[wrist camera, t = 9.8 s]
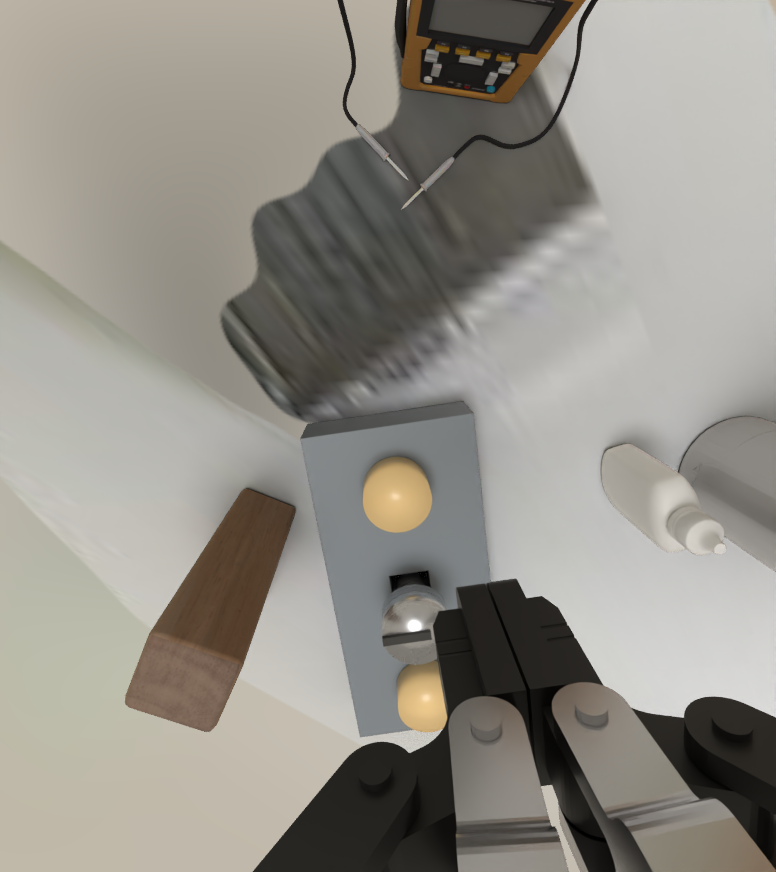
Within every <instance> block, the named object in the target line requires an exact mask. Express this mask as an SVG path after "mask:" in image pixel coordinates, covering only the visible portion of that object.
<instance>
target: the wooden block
mask: <svg viewBox="0 0 776 872" xmlns="http://www.w3.org/2000/svg"><path fill="white" fill-rule="evenodd" d="M294 516H295V508H294V507H293V506H290V505H287V504H285V503H282V502H280V501H277V500H275V499H272V498H270V497H267V496H265V495H262V494H260V493H257V492H255V491H252V490H249V489H244V490H243V491H242V492H241V493H240V495H239V496H238V498H237V499H236V501H235V502H234V504H233V505H232V507H231V508H230V510H229V511H228V513H227V514H226V516H225V518H224V519H223V521H222V522H221V524H220V525H219V527H218V528H217V530H216V532H215V533H214V535H213V536H212V538H211V539H210V541H209V542H208V544H207V546H206V547H205V549H204V550H203V552H202V553H201V555H200V556H199V558H198V559H197V561H196V563H195V564H194V566H193V567H192V569H191V570H190V572H189V573H188V575H187V576H186V578H185V580H184V581H183V583H182V584H181V586H180V587H179V589H178V590H177V592H176V593H175V595H174V597H173V598H172V600H171V601H170V603H169V604H168V606H167V607H166V609H165V610H164V612H163V614H162V615H161V617H160V618H159V620H158V621H157V623H156V624H155V626H154V627H153V629H152V630H151V632H150V634H149V636H148V639H147V641H146V644H145V646H144V649H143V651H142V654H141V657H140V659H139V662H138V665H137V667H136V670H135V673H134V675H133V678H132V680H131V683H130V685H129V688H128V691H127V693H126V698H125V704H126V705H127V706H128V707H130V708H133V709H136V710H139V711H142V712H145V713H148V714H151V715H154V716H157V717H161V718H164V719H167V720H170V721H173V722H176V723H179V724H183V725H186V726H189V727H192V728H195V729H198V730H201V731H204V732H209V731H211V730H212V729H213V728H214V727H215V726H216V725H217V723H218V721H219V718H220V716H221V714H222V712H223V709H224V707H225V705H226V702H227V700H228V698H229V696H230V694H231V692H232V689H233V687H234V685H235V683H236V680H237V678H238V676H239V674H240V671H241V669H242V667H243V664H244V661H245V658H246V655H247V652H248V650H249V647H250V644H251V641H252V638H253V635H254V632H255V629H256V626H257V623H258V620H259V618H260V615H261V612H262V609H263V606H264V603H265V600H266V597H267V594H268V591H269V588H270V585H271V583H272V580H273V577H274V574H275V571H276V568H277V565H278V562H279V559H280V556H281V554H282V551H283V548H284V545H285V542H286V539H287V536H288V533H289V530H290V527H291V524H292V521H293V519H294Z"/></svg>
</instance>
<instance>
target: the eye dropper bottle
mask: <svg viewBox="0 0 776 872" xmlns="http://www.w3.org/2000/svg"><path fill="white" fill-rule="evenodd" d="M601 476H602V483H603V487H604V490H605V492H606V495H607V497H608V498H609V500H610V502H611V503H612V504H613V506H614V507H615V508H616V509H617V510H618V511H619V512H620V513H621V514H622V515H623V516H624V517H626V518H627V519H628V520H629V521H630V522H631V523H632V524H633V525H634V526H636V527H637V528H638V529H639V530H640V531H641V532H642V533H643V534H645V535H646V536H647V537H648V538H649V539H650V540H651V541H653V542H654V543H655V544H656V545H657V546H658V547H660V548H661V549H663V550H664V551H666V552H678V551H681V550H685V549H687V550H688V551H690V552H691V553H693V554H695V555H706V554H710V553H712V552H713V553H716V554H723V553H724V552H725V551H726V546H725V544H724V543H723V539H724V529H723V527H722V525H721V524H720V523H719V522H718V521H716V520H715V519H713V518H712V517H710V516H709V515H707V514H706V513H704V512H703V511H702V508H701V505H700V502H699V499H698V497H697V495H696V493H695V491H694V489H693V488H692V486H691V485H690V483H689V482H688V481H687V480H686V479H685V478H684V476H682V475H681V474H680V473H678V472H677V471H675V470H674V469H672V468H670V467H669V466H667V465H665V464H664V463H662V462H660V461H659V460H657V459H656V458H654V457H652V456H650V455H649V454H647V453H645V452H644V451H642V450H640V449H639V448H637V447H635V446H634V445H632V444H623V445H620V446H617V447H614V448H611V449H608V450H607V451H606V452H605V453H604V456H603V460H602V468H601Z"/></svg>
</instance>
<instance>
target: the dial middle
mask: <svg viewBox="0 0 776 872" xmlns="http://www.w3.org/2000/svg"><path fill="white" fill-rule="evenodd" d="M444 610H447V607H446V603H445V601H444V599H443V597H442V596H441V595H440V594H439V593H438V592H437V591H436V590H434V589H432V588H430V587H428V586H425V585H424V583H423V579H422V577H421V576H420V575H419V574H417V573H415V572H414V573H407V574H403V575H401V576H400V578H399V579H398V589H397V590H395V591H394V592H392V593H391V594H390V595H389V596H388V597H387V599H386V600H385V602H384V604H383V608H382V641H383V647H384V646H385V648H386V650H387V651H388V653H389V654H390V655H391V656H392V657H394V658H395V659H397V660H398V661H401V662H403V663H407V664H412V665H419V664H425V663H429V662H432V661H434V660H436V659H437V653H436V645H435V638H434V631H433V624H434V622H435V619H436V617H437V614H438V612H439V611H444Z"/></svg>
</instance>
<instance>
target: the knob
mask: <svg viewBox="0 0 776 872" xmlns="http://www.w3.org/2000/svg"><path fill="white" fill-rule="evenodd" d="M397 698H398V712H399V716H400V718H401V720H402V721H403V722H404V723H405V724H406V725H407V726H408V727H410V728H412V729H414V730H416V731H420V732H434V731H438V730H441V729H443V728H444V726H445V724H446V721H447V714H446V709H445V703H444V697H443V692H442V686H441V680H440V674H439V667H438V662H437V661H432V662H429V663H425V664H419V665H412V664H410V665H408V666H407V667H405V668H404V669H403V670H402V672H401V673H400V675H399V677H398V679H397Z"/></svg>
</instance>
